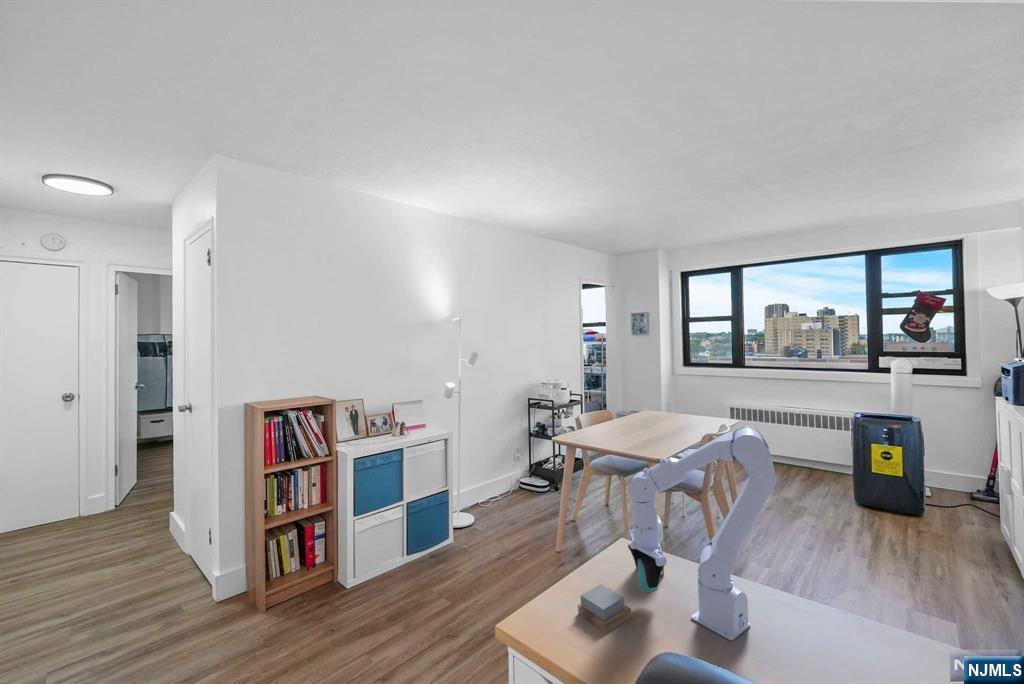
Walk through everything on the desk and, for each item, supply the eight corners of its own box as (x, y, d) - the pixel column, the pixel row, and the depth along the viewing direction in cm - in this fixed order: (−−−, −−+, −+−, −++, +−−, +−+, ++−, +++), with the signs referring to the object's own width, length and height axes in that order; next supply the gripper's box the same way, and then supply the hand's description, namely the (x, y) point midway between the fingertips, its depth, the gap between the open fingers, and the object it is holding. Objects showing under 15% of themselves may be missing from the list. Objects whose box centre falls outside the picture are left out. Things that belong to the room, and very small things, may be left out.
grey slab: (624, 607, 99) (624, 597, 99) (604, 620, 95) (603, 609, 95) (601, 594, 105) (600, 584, 105) (580, 605, 100) (580, 595, 100)
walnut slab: (631, 619, 99) (630, 608, 99) (605, 635, 94) (605, 624, 94) (603, 601, 106) (603, 591, 106) (578, 615, 101) (578, 605, 101)
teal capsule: (661, 587, 102) (660, 562, 102) (649, 594, 100) (648, 568, 100) (646, 579, 106) (645, 555, 106) (634, 586, 103) (633, 561, 103)
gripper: (616, 514, 109) (619, 567, 109) (644, 540, 95) (646, 601, 95) (642, 510, 110) (645, 563, 110) (673, 535, 96) (676, 596, 96)
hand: (647, 580), depth 103 cm, fingers closed on teal capsule, 4 cm apart
